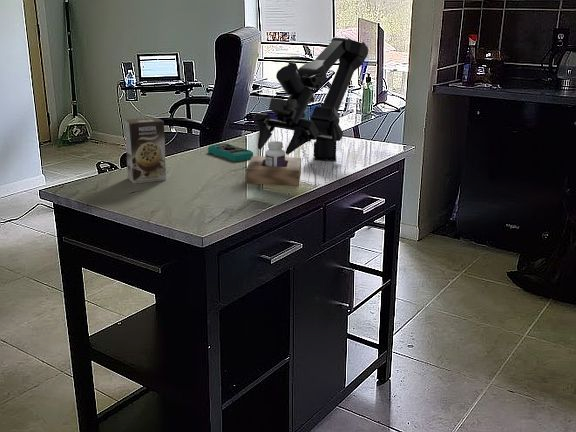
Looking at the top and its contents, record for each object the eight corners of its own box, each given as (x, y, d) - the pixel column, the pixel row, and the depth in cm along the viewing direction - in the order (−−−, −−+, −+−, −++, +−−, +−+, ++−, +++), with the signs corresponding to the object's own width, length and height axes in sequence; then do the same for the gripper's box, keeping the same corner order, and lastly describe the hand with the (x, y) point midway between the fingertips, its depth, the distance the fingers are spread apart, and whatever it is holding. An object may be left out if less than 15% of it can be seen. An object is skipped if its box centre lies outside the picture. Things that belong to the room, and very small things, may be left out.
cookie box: (133, 184, 167) (129, 123, 162) (127, 178, 173) (123, 118, 167) (167, 180, 171) (164, 120, 166) (160, 174, 177) (157, 116, 171)
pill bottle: (283, 174, 179) (284, 140, 176) (285, 179, 174) (286, 144, 171) (264, 174, 179) (265, 140, 175) (265, 180, 174) (265, 144, 170)
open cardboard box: (300, 171, 182) (301, 157, 181) (298, 185, 169) (299, 170, 168) (252, 169, 183) (252, 156, 182) (246, 183, 170) (246, 169, 169)
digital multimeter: (225, 150, 206) (225, 141, 205) (254, 159, 195) (254, 150, 194) (206, 154, 201) (206, 144, 200) (235, 163, 191) (235, 154, 190)
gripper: (256, 83, 176) (232, 129, 171) (314, 90, 166) (289, 139, 161) (273, 108, 185) (250, 152, 180) (328, 115, 175) (305, 162, 170)
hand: (272, 151), depth 173 cm, fingers open, 9 cm apart
